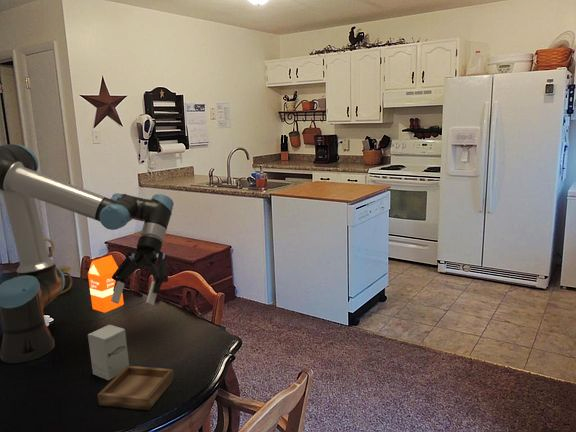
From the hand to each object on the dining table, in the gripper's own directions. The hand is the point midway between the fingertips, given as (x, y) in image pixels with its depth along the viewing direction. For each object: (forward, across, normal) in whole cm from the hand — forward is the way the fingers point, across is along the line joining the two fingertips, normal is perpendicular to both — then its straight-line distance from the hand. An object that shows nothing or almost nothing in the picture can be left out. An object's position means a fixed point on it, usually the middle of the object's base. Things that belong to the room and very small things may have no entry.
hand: (131, 303), depth 139 cm
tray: (+24, -13, +2) cm, 28 cm away
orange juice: (-6, +37, -29) cm, 48 cm away
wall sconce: (-11, +68, -30) cm, 75 cm away
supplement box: (+20, +2, -2) cm, 20 cm away
